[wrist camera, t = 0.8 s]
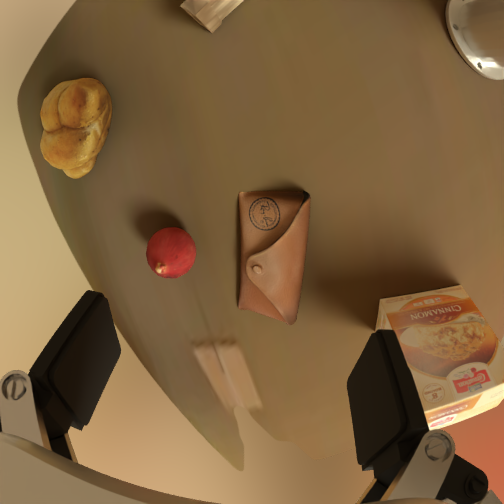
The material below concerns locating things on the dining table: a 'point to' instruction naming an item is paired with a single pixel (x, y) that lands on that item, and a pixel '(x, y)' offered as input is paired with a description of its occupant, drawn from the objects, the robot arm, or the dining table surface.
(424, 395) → the coffeecake box
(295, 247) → the sunglasses case
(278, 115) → the dining table surface
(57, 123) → the bread roll
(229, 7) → the strip
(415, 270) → the dining table surface
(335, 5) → the dining table surface
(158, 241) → the red round fruit
